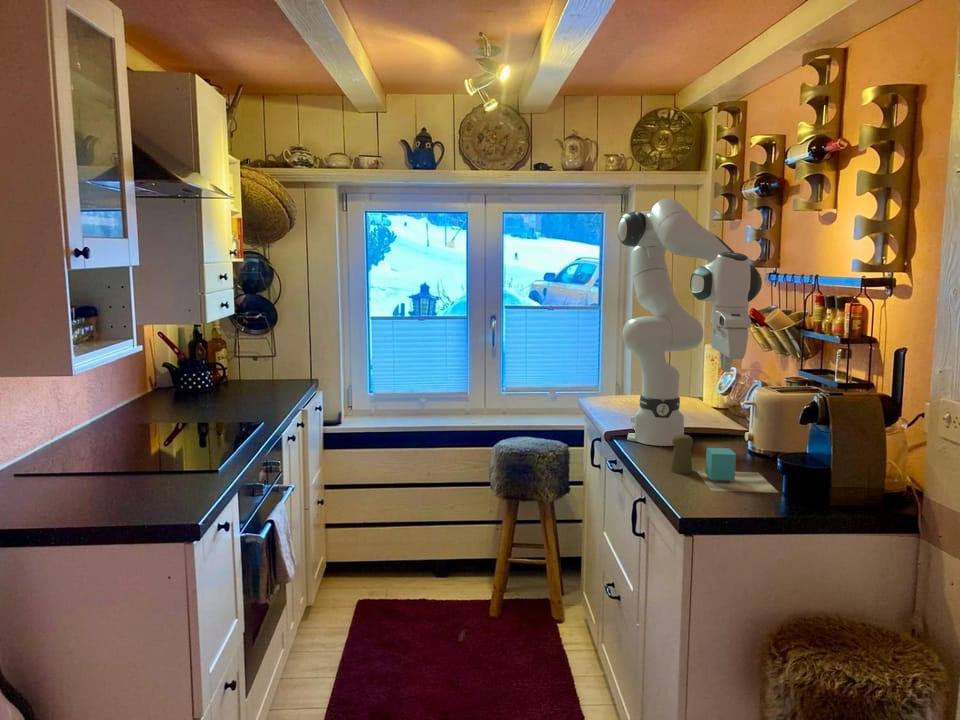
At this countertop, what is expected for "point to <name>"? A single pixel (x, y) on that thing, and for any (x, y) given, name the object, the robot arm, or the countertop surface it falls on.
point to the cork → (682, 454)
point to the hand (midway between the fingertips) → (725, 370)
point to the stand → (740, 483)
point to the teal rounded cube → (720, 464)
